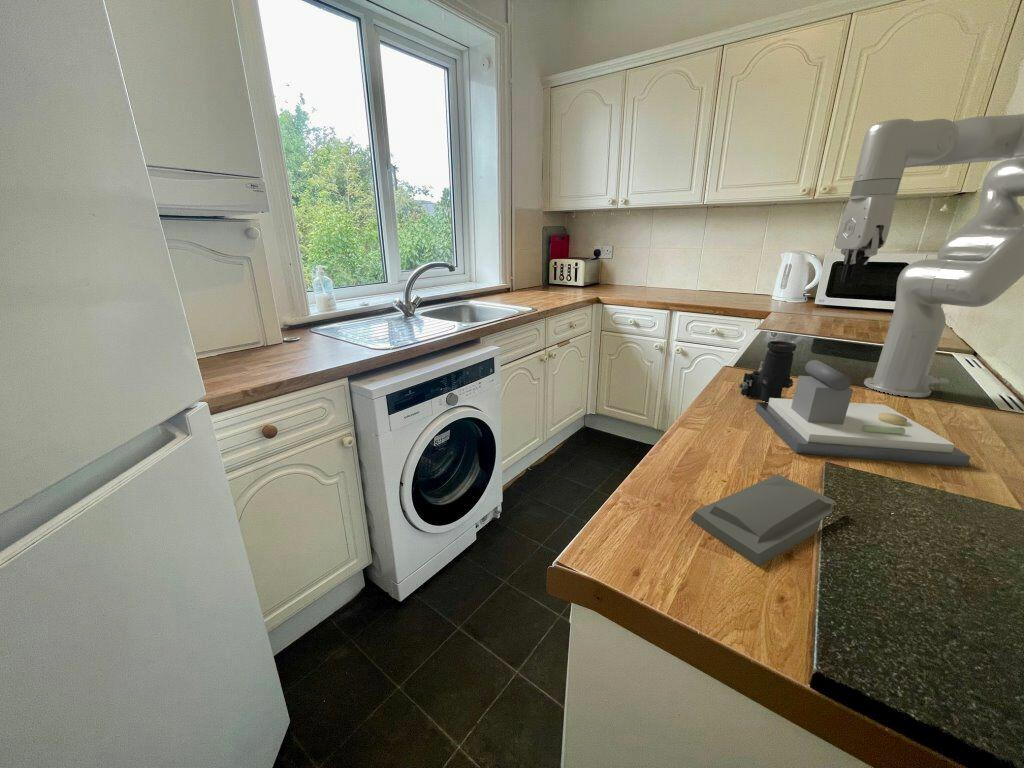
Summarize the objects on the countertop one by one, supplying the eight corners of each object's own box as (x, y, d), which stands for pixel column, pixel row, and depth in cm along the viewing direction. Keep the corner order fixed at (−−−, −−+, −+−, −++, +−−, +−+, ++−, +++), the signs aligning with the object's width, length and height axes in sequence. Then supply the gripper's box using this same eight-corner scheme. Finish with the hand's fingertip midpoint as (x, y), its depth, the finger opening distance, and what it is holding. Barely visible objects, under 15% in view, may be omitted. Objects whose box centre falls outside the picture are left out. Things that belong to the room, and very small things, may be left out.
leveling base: (887, 418, 88) (890, 410, 87) (966, 466, 69) (970, 456, 68) (754, 410, 92) (756, 401, 91) (795, 453, 74) (798, 443, 73)
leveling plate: (882, 411, 86) (899, 358, 83) (951, 452, 70) (977, 388, 66) (768, 404, 90) (779, 353, 86) (807, 441, 73) (824, 380, 70)
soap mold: (847, 519, 57) (854, 498, 56) (758, 571, 48) (764, 547, 47) (773, 483, 66) (778, 464, 65) (686, 521, 57) (690, 500, 56)
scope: (766, 336, 100) (810, 345, 92) (755, 389, 105) (796, 402, 96) (745, 340, 96) (790, 349, 88) (735, 395, 101) (776, 409, 93)
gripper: (833, 195, 92) (813, 279, 98) (876, 187, 78) (850, 286, 84) (871, 194, 90) (849, 280, 96) (922, 186, 76) (892, 287, 83)
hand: (849, 282), depth 90 cm, fingers closed
